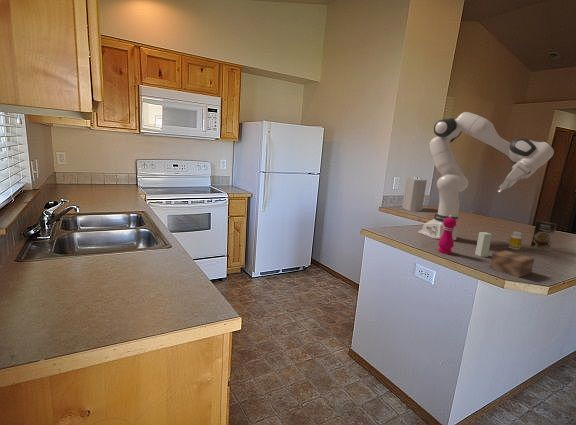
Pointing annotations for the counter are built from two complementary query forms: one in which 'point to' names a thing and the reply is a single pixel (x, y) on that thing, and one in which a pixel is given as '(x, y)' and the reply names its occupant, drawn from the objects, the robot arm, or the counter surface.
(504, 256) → the walnut riser block
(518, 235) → the supplement bottle
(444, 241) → the pepper mill
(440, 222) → the robot arm
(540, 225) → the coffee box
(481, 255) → the sage block
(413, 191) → the paper bag
